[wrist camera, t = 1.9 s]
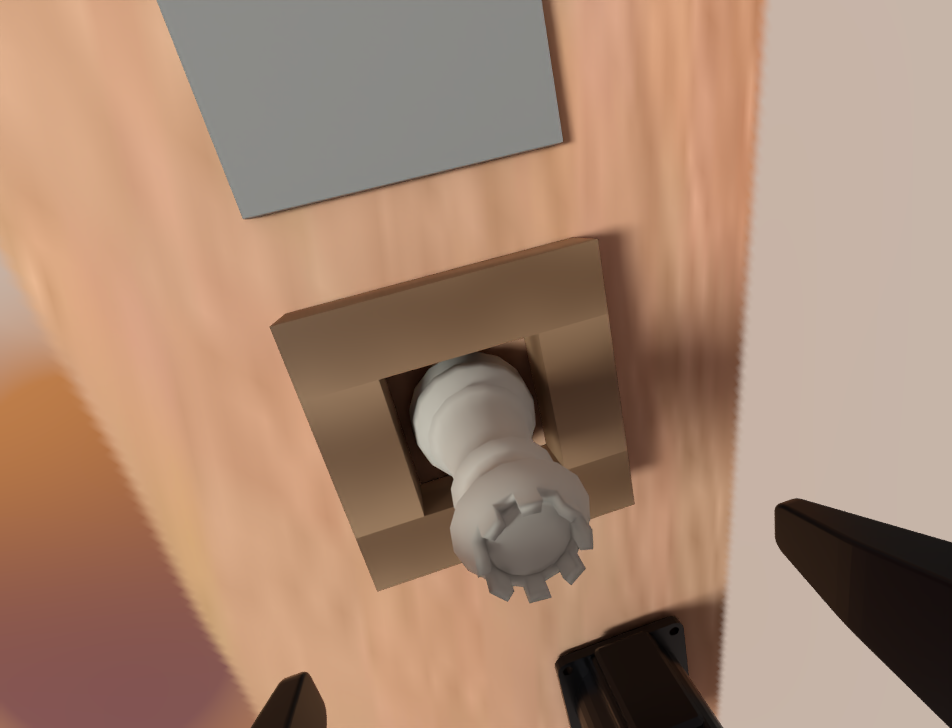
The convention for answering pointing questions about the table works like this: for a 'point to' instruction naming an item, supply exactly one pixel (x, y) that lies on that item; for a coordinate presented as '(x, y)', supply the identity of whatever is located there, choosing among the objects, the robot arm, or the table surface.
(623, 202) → the table surface
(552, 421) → the socket block
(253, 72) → the slate mat
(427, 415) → the rook chess piece
